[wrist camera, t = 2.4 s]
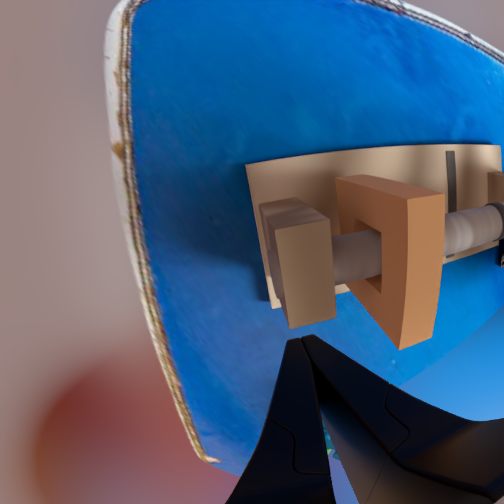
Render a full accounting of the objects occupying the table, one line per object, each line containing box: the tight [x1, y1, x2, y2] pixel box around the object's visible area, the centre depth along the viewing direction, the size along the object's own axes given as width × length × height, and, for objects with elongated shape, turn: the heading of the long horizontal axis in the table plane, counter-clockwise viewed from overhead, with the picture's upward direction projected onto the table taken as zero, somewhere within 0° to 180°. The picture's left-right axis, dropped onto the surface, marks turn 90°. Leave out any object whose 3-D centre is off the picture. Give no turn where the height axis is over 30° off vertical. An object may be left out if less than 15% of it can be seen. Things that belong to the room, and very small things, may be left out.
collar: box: [335, 174, 445, 350], centre depth 14 cm, size 2×7×8 cm, turn 10°
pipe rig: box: [245, 144, 504, 329], centre depth 16 cm, size 24×10×7 cm, turn 100°
